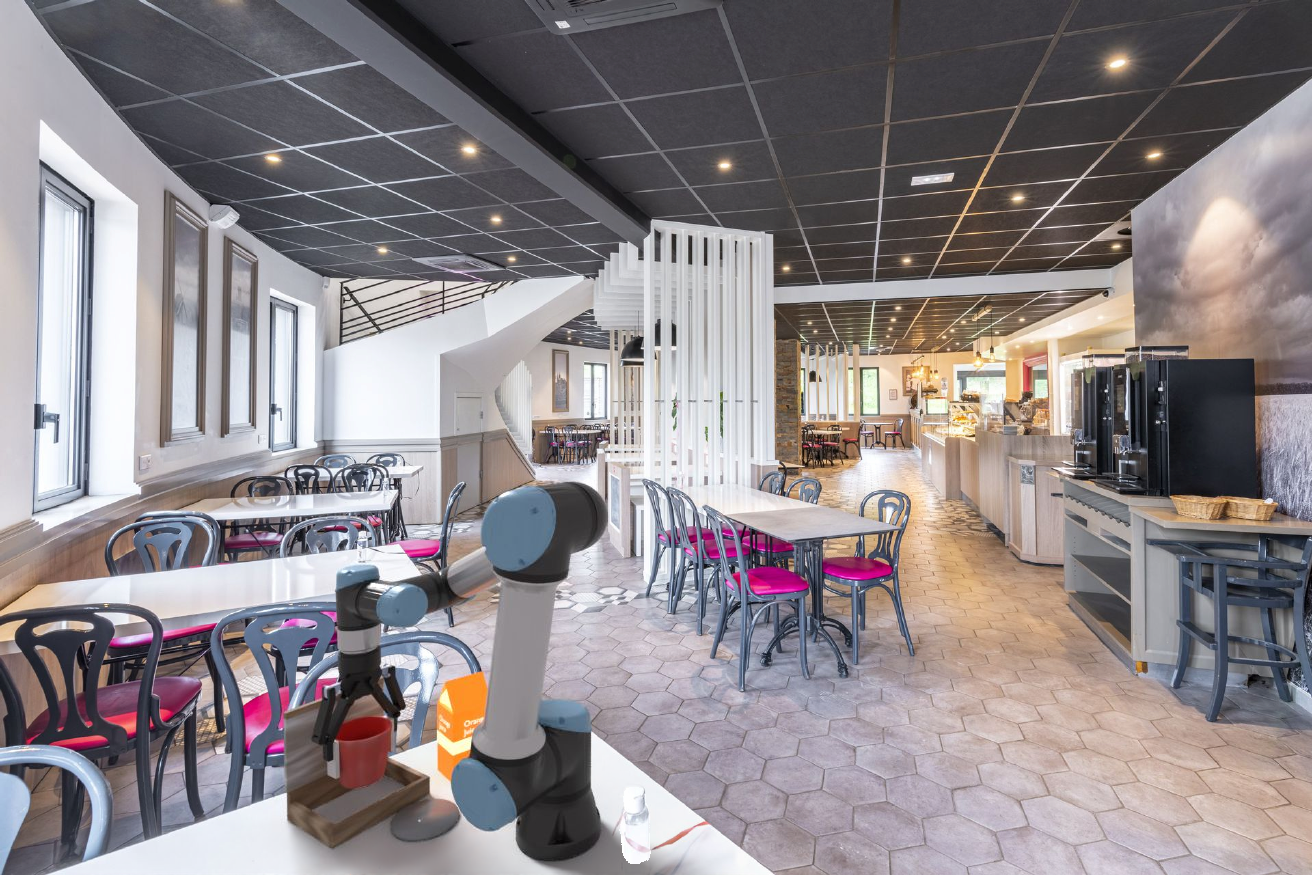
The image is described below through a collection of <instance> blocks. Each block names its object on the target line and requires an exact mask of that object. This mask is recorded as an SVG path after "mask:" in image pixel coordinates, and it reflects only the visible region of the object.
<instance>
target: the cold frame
mask: <svg viewBox="0 0 1312 875" xmlns="http://www.w3.org/2000/svg"><path fill="white" fill-rule="evenodd" d="M378 684H379V685H380V687H381V688H382V689H383V690H384V684H385V681H384V678H383V676H381V677H380V679H379V681H378ZM340 693H341V690H339V691H338V696H336V700H335V705H334V709H333V712H334V710H335V707H336V705H337V703H338V701H337V700H338V697H339V695H340ZM346 700H348V697H346ZM321 701H322V697H320V698H318V699H316V700H313V701H311V702H307V703H305V704H302V705H299V706H296V707H294V708H290V709H288V710H286V711H283V712H282V714H283V715H282V716H283V760H284V761H283V764H284V765H283V770H284V771H283V772H284V774H283V776H284V778H283V779H284V792H285V793H286V820H287V821H288V822H289V823H291V824H293V825H294V826H295V827H298V828H299V829H300V830H302V831H304V833H306V834H308V835H310V836H311V837H313V838H315V840H317V841H319V842H321V843H322V844H323V845H325V846H327V847H328V848H330V849H331V850H334V849H336V848H337V847H339V846H341V845H343V844H344V843H347V842H349V841H350V840H352V839H353V838H355V837H356V836H359V835H360V834H362V833H365V831H367V830H369V829H372V827H373V828H374V826H377V825H378V824H380V823H381V822H383V821H385V820H387V819H389V818H391V817H392V816H394V815H395V814H396V813H397V812H398V811H400V810H401V809H402V808H404V807H406V806H408V805H410V804H412V803H415V802H418V801H421V800H423V798H425V797H427V796H429V795H430V794H431V784H430V782H431V777H430V776H429V775H427V774H425V773H423V772H421V771H418V770H417V769H415V768H412V767H410V766H408V765H406V764H404V763H402V762H400V761H397V760H396V759H393V758H391V757H389V756H388V757H387V762H386V768H385V773H384V776H383V777H386V778H388V779H390V780H393V781H394V782H396V783H397V784H399V785H402V786H403V787H402V788H400V789H398V790H396V791H395V792H393V793H390V794H389V795H387V796H385V797H383V798H381V799H380V800H378V801H376V802H374V803H372V804H370V805H368V806H366V807H364V808H362V809H361V810H359V811H357V812H355V813H354V814H352V815H350V816H347V817H345V818H343V819H342V820H340V821H339V822H336V823H335V824H334V823H333V822H331V821H330V820H328V819H326V818H325V817H323V816H321V815H320V814H318V813H316V812H315V811H314V810H316V809H319V808H320V807H322V806H324V805H326V804H328V803H330V802H332V801H334V800H336V799H338V798H339V797H342V796H343V795H346V794H348V793H350V792H352V791H354V790H355V789H350V788H345V787H343V786H342V785H341V783H340V779H339V778H337V779H335V778H333V777H331V776H329V775H328V770H327V761H325V760H324V759H323V744H322V745H319V744H317V743H314V742H312V741H311V738H312V734H313V730H314V727H315V723H316V719H317V716H318V712H319V708H320V705H321ZM384 713H385V711H384V710H383V709H382V707H381V706H380V705H379V704H378V702H377V701H376V700H375V698H374V697H373V696H372V695H368V696H363V697H362V698H360V699H358V700H355V702H354V704H353V705H352V706H351V707H350V709H349V711H348V713H347V715H346V717H345V719H344V722H346V721H349V720H352V719H355V718H360V717H366V716H381V717H382V716H385V715H384ZM332 714H333V713H332ZM344 722H343V723H344Z"/></svg>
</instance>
